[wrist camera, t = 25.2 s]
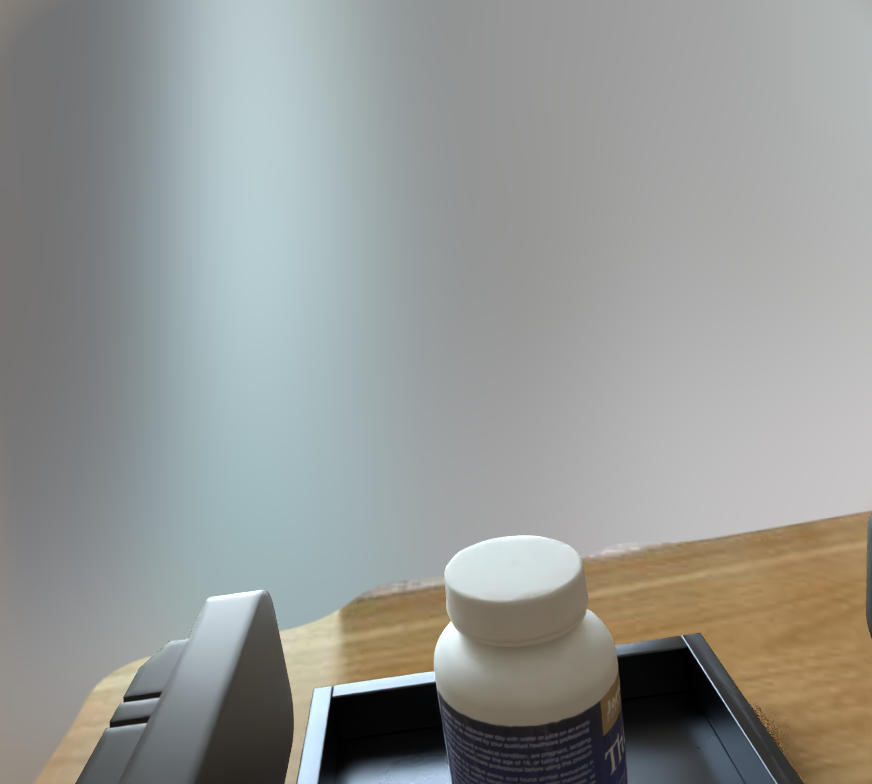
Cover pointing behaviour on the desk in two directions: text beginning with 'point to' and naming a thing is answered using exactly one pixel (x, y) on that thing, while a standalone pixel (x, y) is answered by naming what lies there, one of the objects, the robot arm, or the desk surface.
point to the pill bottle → (527, 669)
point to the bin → (641, 709)
